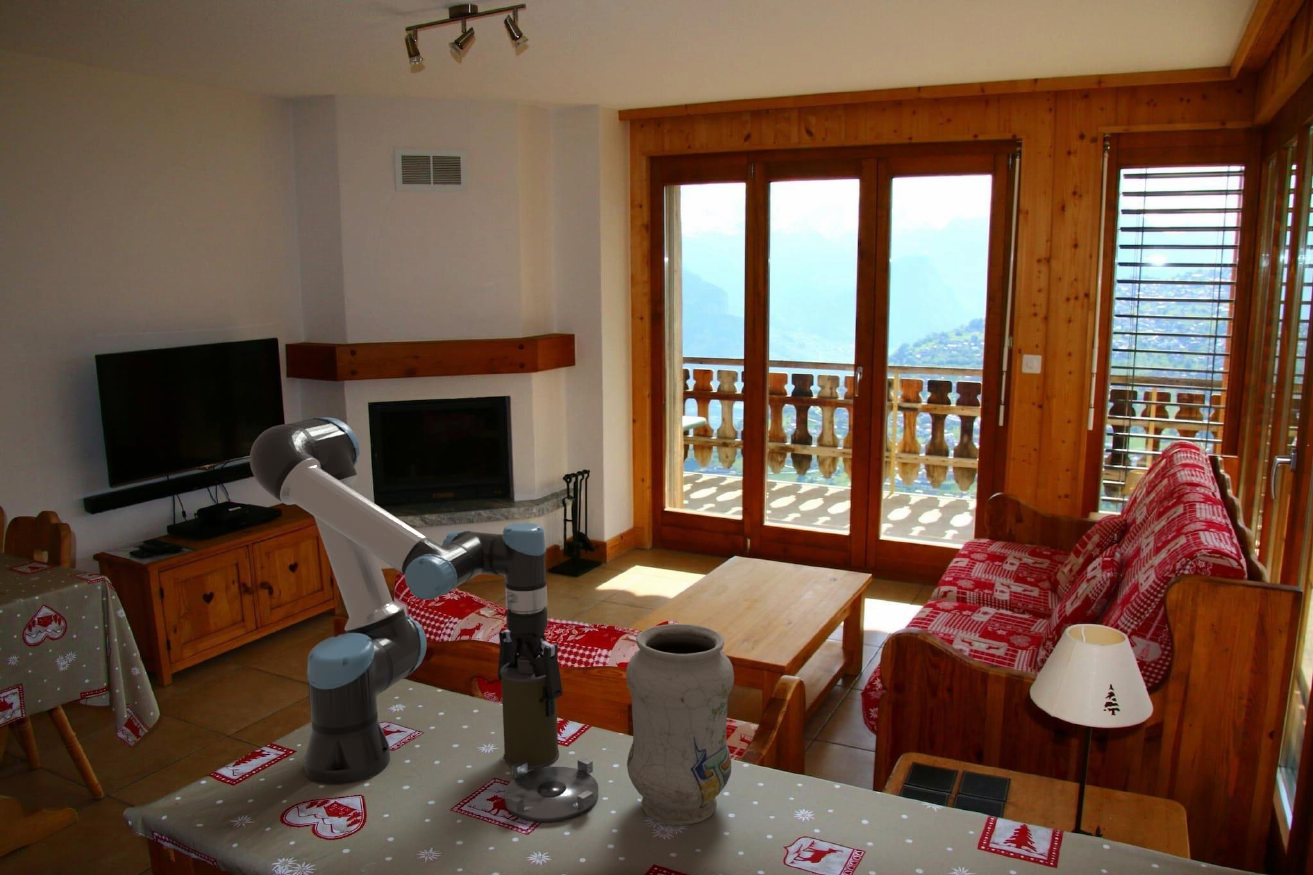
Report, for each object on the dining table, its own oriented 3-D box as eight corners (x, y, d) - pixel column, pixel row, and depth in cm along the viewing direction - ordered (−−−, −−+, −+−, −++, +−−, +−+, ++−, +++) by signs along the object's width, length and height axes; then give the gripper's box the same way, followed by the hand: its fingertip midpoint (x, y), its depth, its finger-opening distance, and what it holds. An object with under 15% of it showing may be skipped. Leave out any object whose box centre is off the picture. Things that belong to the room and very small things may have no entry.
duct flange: (478, 801, 164) (477, 782, 164) (554, 762, 177) (553, 744, 177) (549, 838, 153) (548, 818, 152) (624, 793, 166) (624, 774, 165)
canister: (549, 772, 174) (546, 667, 171) (495, 767, 176) (491, 663, 173) (566, 744, 184) (563, 645, 181) (515, 740, 186) (511, 642, 183)
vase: (749, 791, 166) (749, 626, 161) (711, 846, 150) (710, 664, 145) (655, 771, 174) (653, 612, 169) (609, 820, 157) (605, 647, 153)
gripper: (474, 601, 179) (479, 715, 183) (550, 625, 166) (554, 748, 170) (505, 591, 185) (509, 702, 189) (581, 614, 172) (584, 733, 175)
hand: (530, 724), depth 179 cm, fingers open, 8 cm apart
